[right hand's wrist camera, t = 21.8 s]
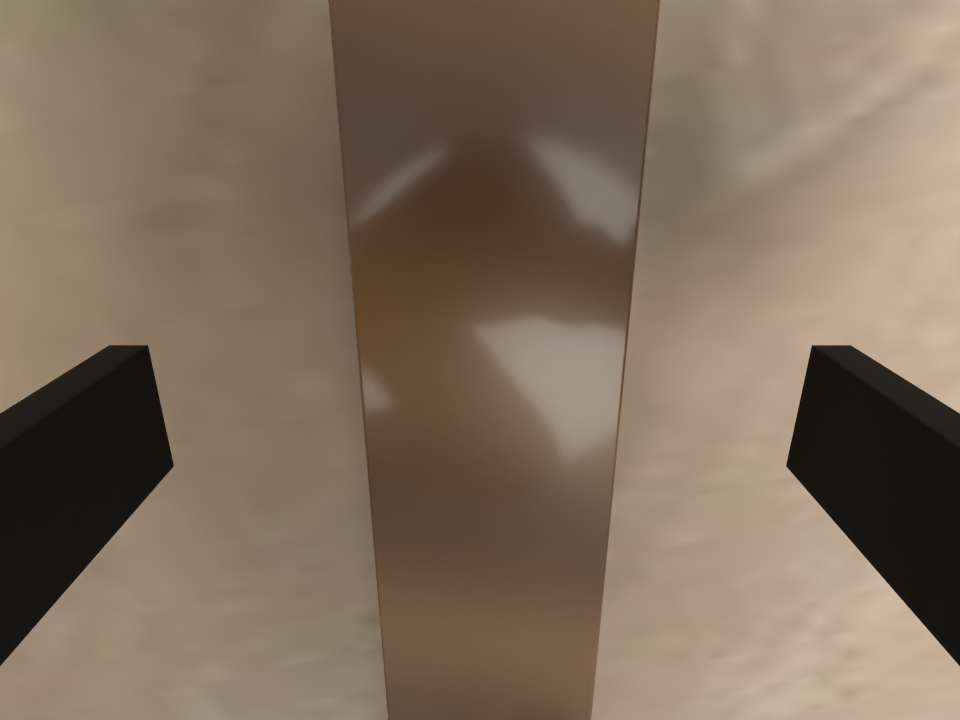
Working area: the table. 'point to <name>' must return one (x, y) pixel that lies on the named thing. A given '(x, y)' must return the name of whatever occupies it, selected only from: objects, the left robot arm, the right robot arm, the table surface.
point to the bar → (492, 330)
